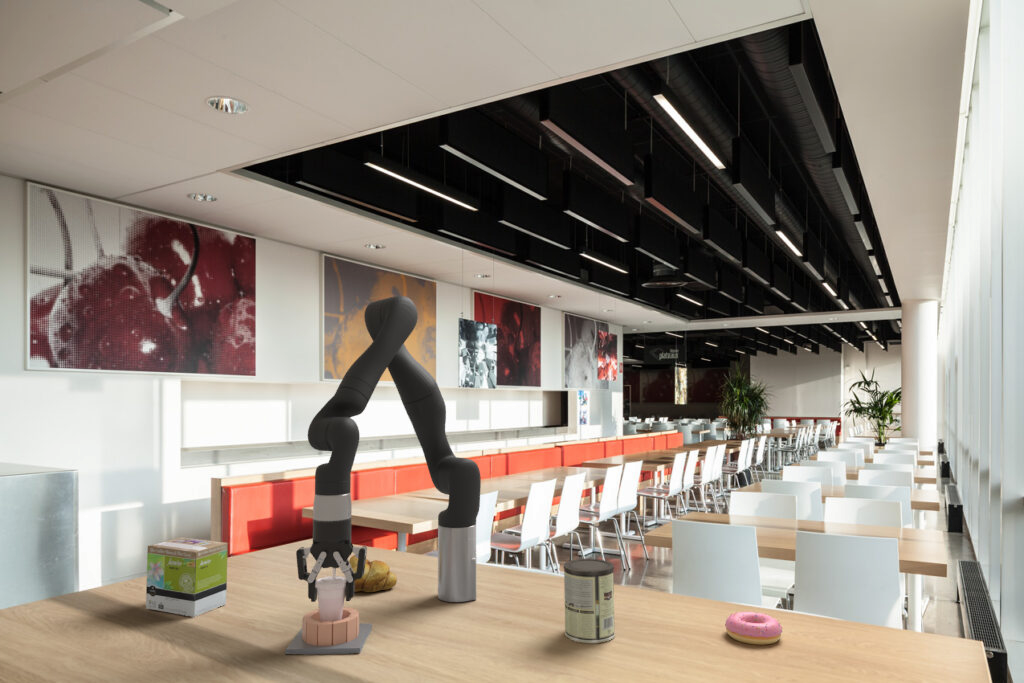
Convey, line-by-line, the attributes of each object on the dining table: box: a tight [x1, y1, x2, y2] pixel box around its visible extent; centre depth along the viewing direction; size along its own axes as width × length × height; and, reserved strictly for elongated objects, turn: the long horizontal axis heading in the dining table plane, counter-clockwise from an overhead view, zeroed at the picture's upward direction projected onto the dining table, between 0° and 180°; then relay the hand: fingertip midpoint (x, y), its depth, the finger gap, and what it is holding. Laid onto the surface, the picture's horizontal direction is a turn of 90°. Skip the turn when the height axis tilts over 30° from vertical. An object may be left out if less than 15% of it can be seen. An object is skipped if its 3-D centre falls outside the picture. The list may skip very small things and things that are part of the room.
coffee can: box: [563, 558, 616, 644], centre depth 143 cm, size 10×10×14 cm
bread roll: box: [348, 554, 398, 593], centre depth 176 cm, size 13×10×8 cm
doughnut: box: [724, 611, 783, 646], centre depth 142 cm, size 11×11×4 cm
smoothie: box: [315, 568, 347, 622], centre depth 141 cm, size 6×6×14 cm
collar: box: [285, 606, 373, 656], centre depth 140 cm, size 14×14×5 cm
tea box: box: [145, 536, 229, 618], centre depth 162 cm, size 15×10×15 cm
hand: (331, 600), depth 141 cm, fingers closed on smoothie, 6 cm apart
